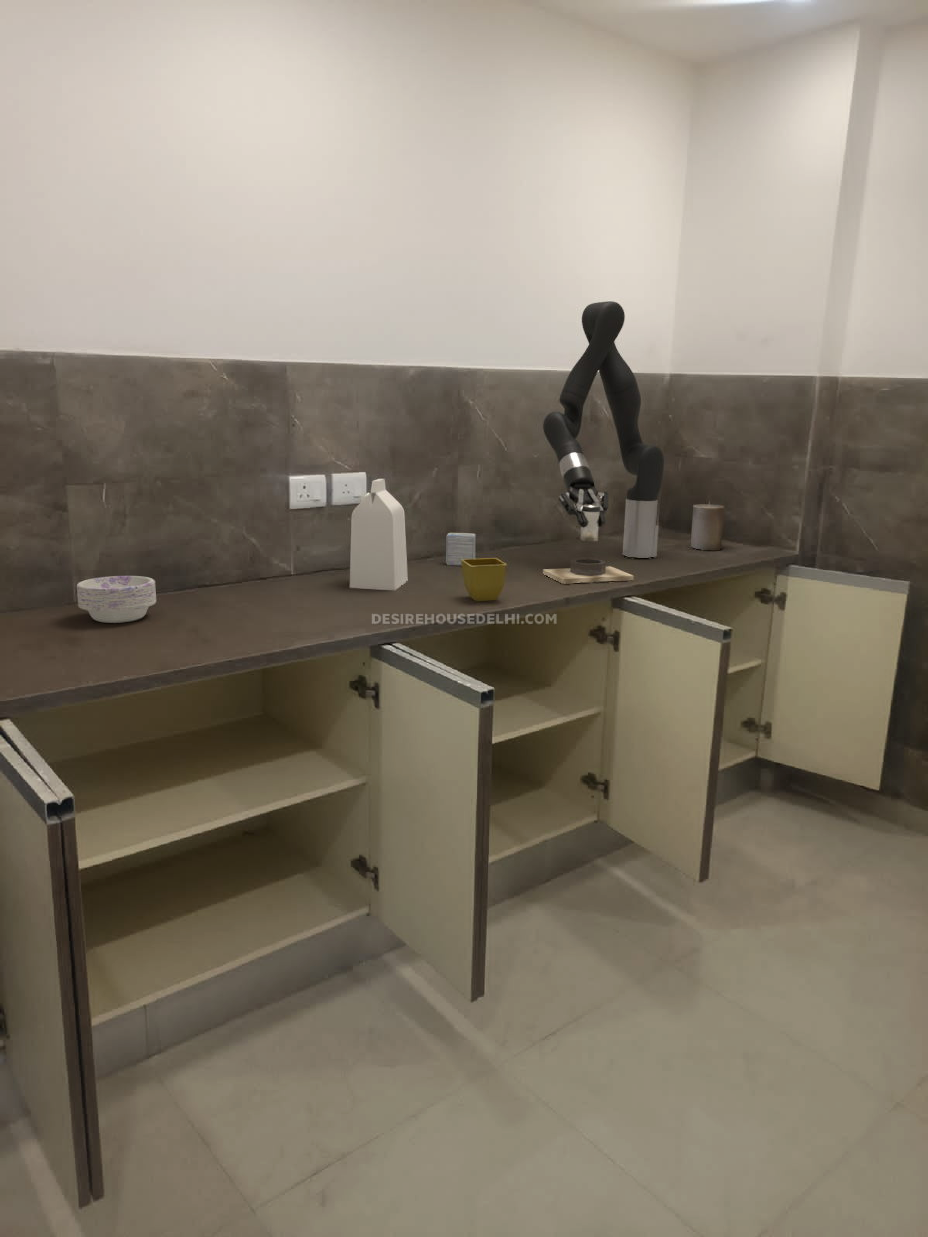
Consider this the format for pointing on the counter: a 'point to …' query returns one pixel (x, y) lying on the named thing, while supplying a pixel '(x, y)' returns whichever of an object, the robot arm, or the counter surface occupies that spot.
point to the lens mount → (587, 572)
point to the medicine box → (459, 547)
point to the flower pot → (483, 577)
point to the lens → (590, 522)
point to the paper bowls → (116, 597)
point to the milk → (378, 541)
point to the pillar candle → (707, 526)
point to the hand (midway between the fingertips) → (593, 525)
